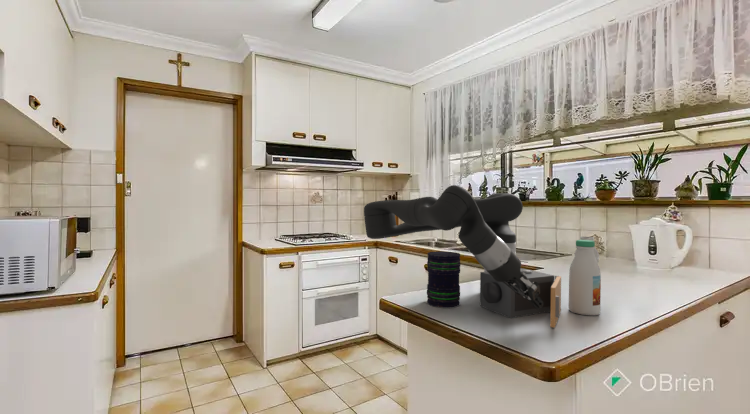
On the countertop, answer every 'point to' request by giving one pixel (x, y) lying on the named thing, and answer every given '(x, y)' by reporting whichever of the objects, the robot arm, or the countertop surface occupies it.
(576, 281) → the milk bottle
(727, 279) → the countertop surface
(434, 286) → the storage jar
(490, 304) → the camera body
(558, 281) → the side door
